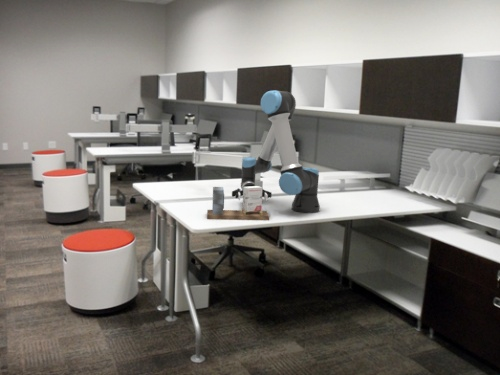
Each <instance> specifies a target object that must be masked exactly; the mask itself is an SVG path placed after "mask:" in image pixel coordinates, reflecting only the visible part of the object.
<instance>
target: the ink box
mask: <svg viewBox="0 0 500 375" xmlns="http://www.w3.org/2000/svg"><path fill="white" fill-rule="evenodd" d="M262 189H263V187H262V186H259V185H256V186H250V187H243V196H242V207H241V210H242V209H243V210H244V211H246V212H249V211H259V210H261V211H262V206H263V205H262V204H263V203H262V201H263V197H262Z"/></svg>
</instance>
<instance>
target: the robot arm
mask: <svg viewBox="0 0 500 375" xmlns="http://www.w3.org/2000/svg"><path fill="white" fill-rule="evenodd" d="M296 105H297V102H296V98H295V96H294V94H292V93H291V92H288V91H287V90H282V91H281V90H276V89H275V90H269V91H266V92H265V93H264V94H263V95H262V97H261V99H260V108H261V110H262V112H263V113H265V114H266V117H267V120H269V121H270V122H271V126H270V128H269V131H268V133H267V135H266V138H265V141H264V142H263V145H262V147H261V150H260V152H259V155H258V157H257V159H256V157H253V156H252V157H250V156H248V157H243V158H242V161H241V162H242V164H241V181H240V187H239V188H237V189H235V190H233V191H231V197H235V199H237V200H238V201H241V197H243V187H250V186H257V185H256V175H257V174H262V173H263V174H264V173H267V172H270V171H271V169H272V167H273V166H272V165H273V164H272V159H273V157H274V155H275V153H276V151H277V150H278V154H279V155H278V156H279V158H280V163H281V169H280V171H279V172H280V177H279V180H278V184H279V185H278V186H279V188H280V190H281V191H282V192H283V193H284V194H286V195H289V196H294V197H293V200H292V203H291V211H295V212H299V213H319V212H320V209H321V208H320V203H319V199H318V198H319V197H318V191H319V177H320V173H319V169H318V168H314V167H305V166H303V165H302V164H300V163H299V160H298V156H297V155H298V154H297V152H296V151H297V150H296V146H295V143H294V139H293V133H292V130H291V126H290V121H292V118H293V116H294V114H295V110H296V107H297V106H296ZM240 188H241V189H240ZM262 198H264V200H265V201H268V199H269V198H272V192H271V191H268V190H265V189H264V188H262Z"/></svg>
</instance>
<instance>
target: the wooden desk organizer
mask: <svg viewBox="0 0 500 375" xmlns="http://www.w3.org/2000/svg"><path fill="white" fill-rule="evenodd" d="M206 213H207V214H206V216H207V218H206V219H207V220H237V221H238V220H239V221H240V220H242V221H245V220H247V221H249V220H252V221H270V215H269V213H268V211H267V210H262V209H261V210H259V211H249V212H246V211H244V210H243V209H242V208H241V209H237V210H235V209H233V210H232V209H225V190H224V187H223V186H212V209H207V212H206Z"/></svg>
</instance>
